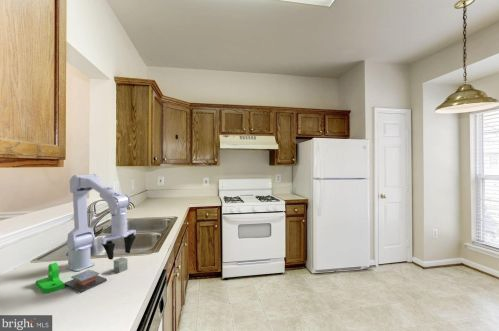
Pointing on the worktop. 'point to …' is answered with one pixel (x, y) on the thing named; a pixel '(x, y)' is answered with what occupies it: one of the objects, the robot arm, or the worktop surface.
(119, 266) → the green-striped metal cube
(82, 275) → the dark grey rectangular tray
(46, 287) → the mechanical part
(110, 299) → the worktop surface
